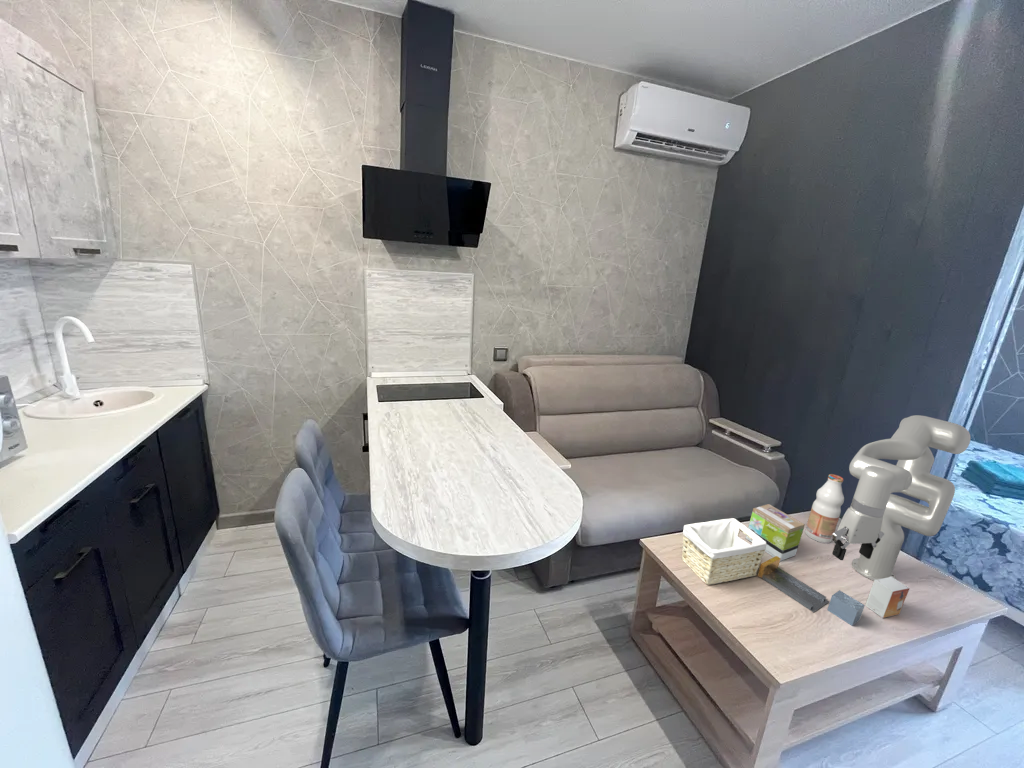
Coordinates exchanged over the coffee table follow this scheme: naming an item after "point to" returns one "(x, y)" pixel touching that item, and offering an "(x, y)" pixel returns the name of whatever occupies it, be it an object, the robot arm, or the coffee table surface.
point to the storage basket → (721, 550)
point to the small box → (887, 597)
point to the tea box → (776, 531)
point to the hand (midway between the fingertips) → (850, 556)
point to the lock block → (845, 607)
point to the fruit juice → (825, 510)
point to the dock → (791, 585)
